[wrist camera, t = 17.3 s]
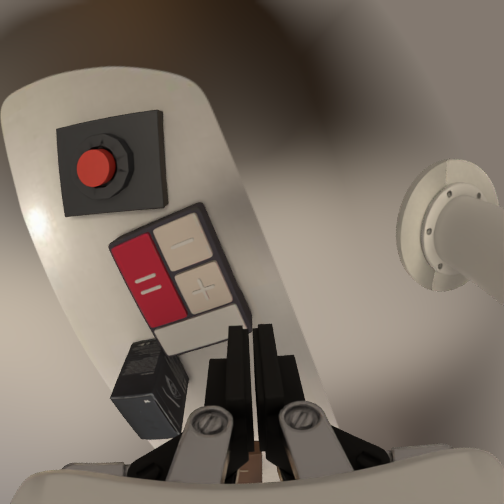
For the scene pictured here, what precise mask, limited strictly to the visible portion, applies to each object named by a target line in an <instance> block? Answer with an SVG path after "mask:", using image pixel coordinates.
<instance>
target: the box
mask: <svg viewBox="0 0 504 504" xmlns="http://www.w3.org/2000/svg"><path fill="white" fill-rule="evenodd" d="M188 381H189V378H188V376H187V375H186V373H185V371H184V369H183V367H182V365H181V363H180V361H179V359H178V357H177V356H173V357H167V356H166V355H165V353H164V352H163V350H162V348H161V347H160V345H159V343H158V342H157V340H156V339H151V340H146V341H142V342H136V343H133V344H132V345H131V348H130V350H129V353H128V355H127V357H126V359H125V362H124V364H123V367H122V369H121V372H120V374H119V377H118V379H117V381H116V384H115V387H114V389H113V392H112V395H111V397H110V399H111V400H112V402H113V403H114V404H115V406H116V407H117V409H118V410H119V411H120V413H121V414H122V415H123V417H124V418H125V419H126V421H127V422H128V423H129V424H130V426H131V427H132V428H133V430H134V431H135V432H136V433H137V434H138V436H139V437H140V438H141V439H148V440H152V439H155V440H156V439H168V438H174V437H176V436H177V435H179V434H181V431H182V423H183V416H184V409H185V401H186V394H187V388H188Z"/></svg>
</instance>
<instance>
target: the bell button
mask: <svg viewBox="0 0 504 504" xmlns="http://www.w3.org/2000/svg"><path fill="white" fill-rule="evenodd" d="M115 169H116V164H115V159H114V157H113V155H112V154H111V153H110V152H109V151H107V150H105V149H93V150H88V151H86V152H85V153H84V154H83V155H82V156H81V157H80V159H79V161H78V164H77V174H78V177H79V179H80V180H81V182H82V183H83V184H85V185H86V186H89V187H97V186H100V185H102V184H105V183H107V182H109V181H110V180H111V178H112V177H113V175H114V173H115Z"/></svg>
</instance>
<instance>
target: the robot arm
mask: <svg viewBox="0 0 504 504" xmlns="http://www.w3.org/2000/svg"><path fill="white" fill-rule="evenodd" d="M420 242H421V248H422V252H423V254H424V257H425V259H426V260H427V262H428V264H429V265H430V266H431V267H432V268H434V269H435V270H436V271H438V272H440V273H442V274H445V275H456V274H459V273H461V274H462V275H463V276H465V277H466V278H467V279H469V280H470V281H472V282H473V283H474V284H476V285H477V286H478V287H480V288H481V289H482V290H484V291H485V292H486V293H488V294H489V295H490V296H492V297H493V298H494V299H496V300H497V301H498V302H499V303H501V304H502V305H503V306H504V208H502V207H499V206H497V205H494V204H491V203H488V202H487V199H486V197H485V196H484V194H483V193H482V192H481V191H480V190H479V189H478V188H477V187H475V186H473V185H472V184H468V183H464V182H456V183H451V184H449V185H447V186H445V187H444V188H442V189H441V190H440V191H439V192H438V193H437V194H436V195H435V196H434V197H433V198H432V200H431V202H430V203H429V205H428V207H427V209H426V211H425V213H424V217H423V220H422V225H421V231H420ZM253 349H254V374H255V392H256V407H257V422H258V436H259V450H260V452H262V451H265V452H266V459H267V460H268V461H270V462H271V463H273V464H274V465H276V466H277V472H278V475H279V478H280V481H281V482H268V483H249V484H238V479H239V473H240V470H239V468H240V467H242V466H243V465H244V464H245V463H247V462H248V461H249V452H255V449H254V431H253V412H252V394H251V375H250V355H249V335H248V329H243V325H237V326H229V327H228V347H227V359H210V361H209V369H208V377H207V386H206V395H205V404H204V407H200V408H198V409H196V410H194V411H193V412H192V413H191V414H190V416H189V417H188V419H187V422H186V425H185V428H184V430H183V432H182V433H181V434H179V435H177V436H176V437H174V438H173V439H171V440H169V441H168V442H166V443H164V444H163V445H161V446H159V447H158V448H156V449H154V450H153V451H151V452H149V453H148V454H146V455H144V456H142V457H141V458H139V459H137V460H136V461H134V462H133V463H132V464H130V465H125V464H124V462H114V463H70V464H68V465H66V466H64V467H63V468H62V469H61V470H50V471H43V472H39V473H35V474H33V475H31V476H30V477H28V478H27V479H26V480H25V481H24V482H23V483H22V484H21V486H20V487H19V489H18V490H17V492H16V494H15V495H14V497H13V499H12V501H11V503H10V504H504V466H503V465H502V464H501V463H500V461H499V460H498V459H497V458H496V457H495V456H494V455H492V454H491V453H489V452H488V451H485V450H482V449H477V448H453V447H452V446H450V445H447V444H431V445H423V446H412V447H399V448H392V449H391V451H385V450H383V449H382V448H380V447H378V446H376V445H373V444H371V443H369V442H366V441H364V440H362V439H360V438H358V437H355V436H353V435H351V434H349V433H347V432H344V431H342V430H340V429H338V428H336V427H334V426H332V425H330V423H329V421H328V419H327V417H326V415H325V413H324V411H323V410H322V409H321V407H319V406H318V405H316V404H314V403H312V402H308V401H305V398H304V394H303V389H302V385H301V381H300V377H299V373H298V369H297V364H296V360H295V357H294V355H285V356H277V350H276V344H275V338H274V333H273V327H272V324H259V325H258V328H253Z"/></svg>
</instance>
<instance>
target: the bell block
mask: <svg viewBox="0 0 504 504" xmlns="http://www.w3.org/2000/svg"><path fill="white" fill-rule="evenodd" d="M56 133H57V151H58V163H59V174H60V183H61V192H62V199H63V206H64V213H65V217H71V216H80V215H89V214H99V213H110V212H121V211H132V210H144V209H157V208H164V207H165V206H166V205H168V194H167V182H166V168H165V153H164V135H163V112H162V111H159V110H151V111H144V112H137V113H131V114H125V115H119V116H114V117H108V118H103V119H98V120H93V121H88V122H84V123H79V124H75V125H70V126H66V127H62V128H58V129H56ZM93 149H105V150H107V151H109V152H110V153H111V154H112V155H113V157H114V159H115V164H116V169H115V173H114V175H113V177H112V178H111V180H110V181H109V182H107V183H105V184H102V185H100V186H97V187H89V186H86V185H85V184H83V183H82V182H81V180H80V179H79V177H78V174H77V164H78V161H79V159H80V157H81V156H82V155H83V154H84V153H85V152H86V151H88V150H93Z"/></svg>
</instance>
